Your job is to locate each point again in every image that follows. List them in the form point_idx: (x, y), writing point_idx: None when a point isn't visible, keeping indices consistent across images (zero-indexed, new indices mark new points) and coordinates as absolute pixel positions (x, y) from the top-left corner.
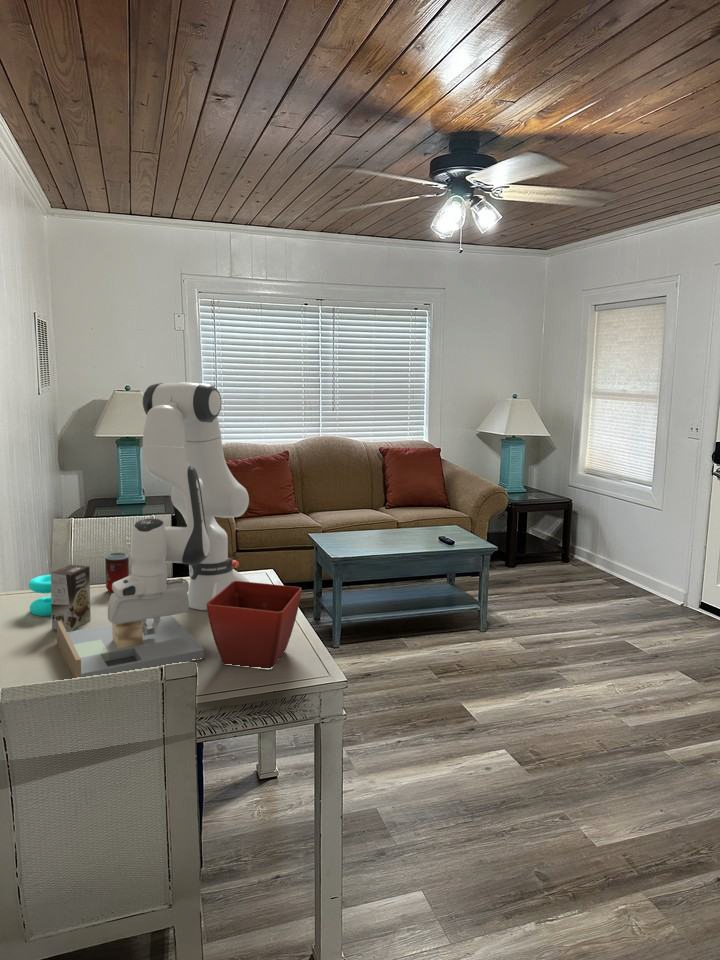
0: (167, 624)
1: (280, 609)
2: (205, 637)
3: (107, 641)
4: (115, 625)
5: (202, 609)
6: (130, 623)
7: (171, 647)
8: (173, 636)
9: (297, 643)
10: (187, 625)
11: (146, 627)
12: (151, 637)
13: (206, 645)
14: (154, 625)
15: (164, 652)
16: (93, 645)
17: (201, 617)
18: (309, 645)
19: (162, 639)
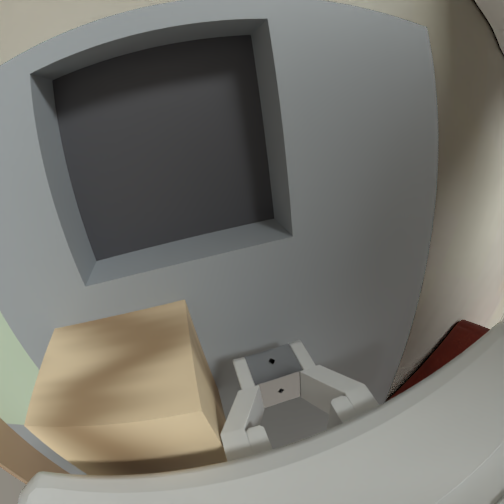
0: (395, 158)
1: None
2: (443, 247)
3: (37, 341)
4: (77, 467)
5: (480, 7)
6: (165, 469)
7: (317, 408)
8: (363, 328)
9: (500, 310)
10: (440, 98)
11: (260, 419)
12: (269, 333)
13: (417, 310)
14: (312, 402)
15: (284, 433)
16: (1, 361)
17: (475, 54)
18: (500, 318)
19: (312, 355)
